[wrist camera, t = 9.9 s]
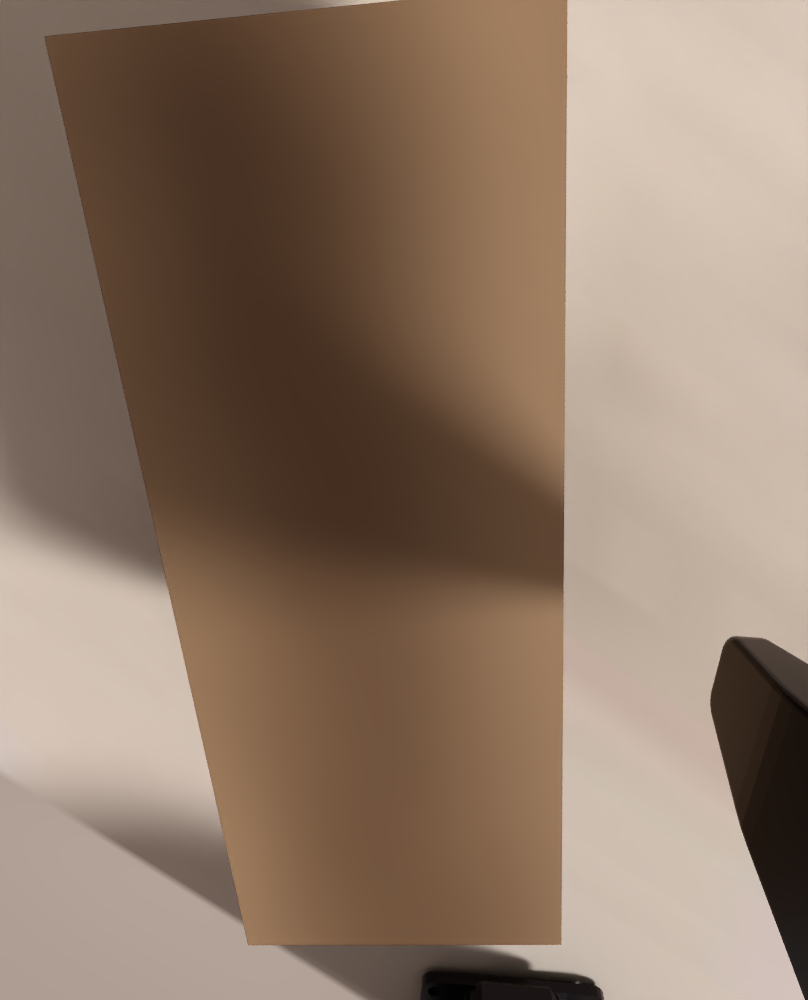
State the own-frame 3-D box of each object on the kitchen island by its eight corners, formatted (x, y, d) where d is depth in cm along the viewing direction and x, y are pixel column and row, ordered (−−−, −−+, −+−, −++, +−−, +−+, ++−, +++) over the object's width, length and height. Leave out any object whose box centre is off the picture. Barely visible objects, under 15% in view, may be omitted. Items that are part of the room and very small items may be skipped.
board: (518, 61, 13) (566, -17, 8) (528, 716, 19) (561, 944, 13) (208, 91, 14) (44, 36, 8) (306, 721, 19) (248, 944, 14)
